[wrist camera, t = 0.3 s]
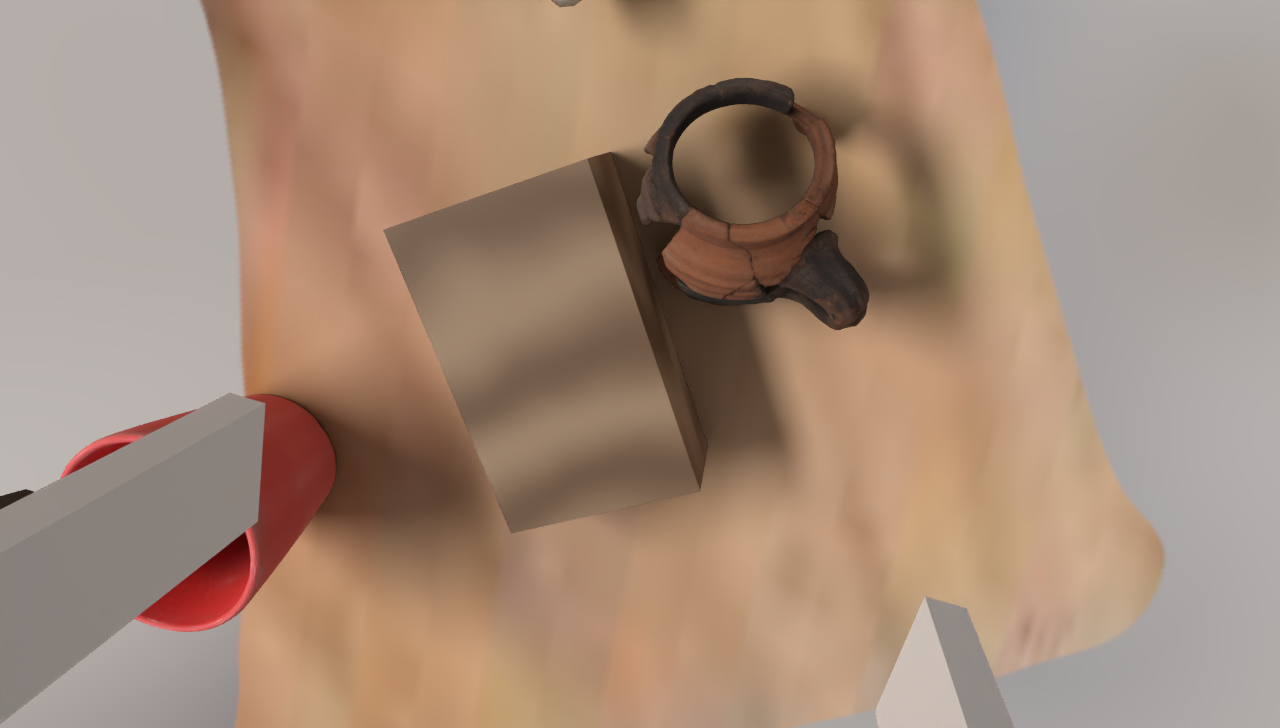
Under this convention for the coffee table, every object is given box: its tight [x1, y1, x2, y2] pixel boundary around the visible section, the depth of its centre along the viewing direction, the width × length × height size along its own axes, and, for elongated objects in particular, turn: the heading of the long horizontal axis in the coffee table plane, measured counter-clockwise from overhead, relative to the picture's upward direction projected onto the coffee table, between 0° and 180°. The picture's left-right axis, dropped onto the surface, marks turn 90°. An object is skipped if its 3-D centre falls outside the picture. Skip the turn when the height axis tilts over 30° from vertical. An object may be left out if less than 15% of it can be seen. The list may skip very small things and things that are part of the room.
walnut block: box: [384, 152, 708, 533], centre depth 37 cm, size 16×10×5 cm, turn 19°
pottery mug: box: [636, 78, 869, 330], centre depth 34 cm, size 12×10×8 cm
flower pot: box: [61, 395, 336, 632], centre depth 40 cm, size 11×11×10 cm
